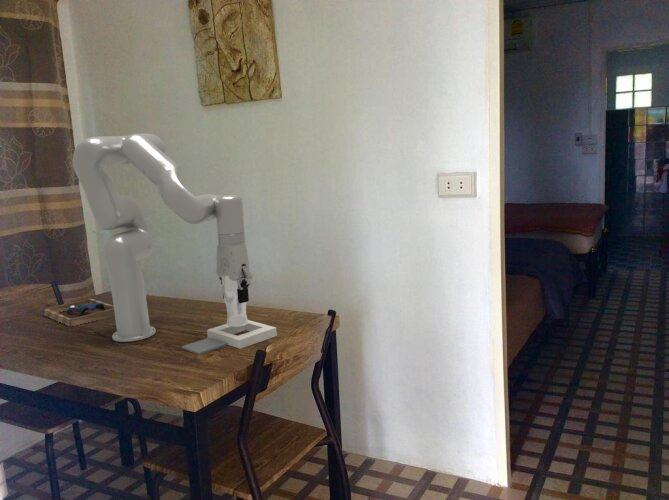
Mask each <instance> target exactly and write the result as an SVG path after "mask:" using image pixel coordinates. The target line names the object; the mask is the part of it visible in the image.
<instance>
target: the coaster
mask: <svg viewBox="0 0 669 500" xmlns="http://www.w3.org/2000/svg"><path fill="white" fill-rule="evenodd" d="M227 346H228V345H227V343H224V342H221V341H218V340H215V339H212V338H208V337H207V338H204V339H201V340H198V341H195V342H191V343H188V344H185V345H182V346H181V349H182V350H185V351H188V352H191V353H193V354H196V355H199V356H200V355H203V354H206V353H208V352H212V351H215V350H218V349H221V348H224V347H227Z"/></svg>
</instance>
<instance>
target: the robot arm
mask: <svg viewBox="0 0 669 500" xmlns="http://www.w3.org/2000/svg"><path fill="white" fill-rule="evenodd" d="M165 146H166V145H165V143H164V141H163V140H162V139H161V138H160V137H159V136H158V135H156V134H155V133H154V134H153V133H132V134H129V135H113V136H112V135H111V136H110V135H109V136H105V135H104V136H102V135H101V136H91V137H87V138H85V139H83V140H82V141H80V142H79V143H78V144H77V146H76V147H75V149H74V151H73V154H72V165H73V170H74V172H75V175H76V177H77V179H78V181H79V183H80V186H81V187H82V190H83V191H84V195H85V197H86V201H87V203H88V205H89V206H88V207H89V208H90V211H91V214H92V216H93V218H94V221H95V223H96V224H97V226H98V227H99V228H100V229H101V230H104V231H115V230H118V229H120V230H119V231H120V232H119V233H116V234H113V235H111V236H109V237H108V238H107V239H106V240H105V241H104V242H103V245H102V251H101V252H102V258H103V261H104V263H105V266H106V269H107V272H108V273H107V274H108V279H109V284H110V291H111V297H112V305H113V306H114V313H115V316H114V319H115V325H116V326H115V327H116V331H114V333H112V334H111V339H112V340H113V341H115V342H118V343H127V342H128V343H129V342H136V341H142V340H144V339H148V338H150V337H152V336H154V335H155V334H156V327H154V326H151V325H150V324H151V323H150V319H149V317H150V315H149V310H148V303H147V294H146V287H145V286H146V285H145V281H144V276H143V272H142V269H141V267H140V265H139V263H138V261H141V260H143V259H146V258H147V257H149V256H150V255H151V254H152V253H153V251H154V249H155V240H154V237H153V233H152V232H151V228H150V226H149V224H148V221H147V218H146V215H145V213H144V210H143V208H142V206H141V204H140V203H139V202H138V201H137V200H136V198H134V197H133V196H130V195H120V194H119V193H118V192H117V189H116V187H115V184H114V182H113V179H112V178H111V176H110V175H109V174H108V173H107V171H105V169H104V167H107V166H108V167H109V166H117V165H118V166H119V165H130V164H131V165H132V166H133V167H134V168H135V169H136V170H138V171H139V172H140V173H141V174H142V175H143V176H145V178H147V179H148V180H149V182H151V183H153V185H155V187H156V188H157V191H158V194H159V196H160V197H161V199H162V201H163V202H164V204H165V205H166V206H167V207H168V208H169V209H170V210H171V211H172V212H173V213H174V214H175V215H176V216H178V217H179V218H180V219H182V220H183V221H184V222H186V223H188V224H191V225H199V224H202V223H206V222H209V221H213V220H216V231H217V232H216V233H217V243H216V244H217V246H216V256H215V257H216V275H217V277H218V278H219V280H220V285H221V286H222V287H221V289H222V290H223V275H225V276H229V279H230V280H232V281H237V284H238V287H239V289H238V302H239V303H244V302H247V303H248V302H249V300H250V299H249V298H250V297H249V288H250V285H251V282H252V280H253V278H254V276H253V275H252V274H251V272H250V265H249V264H250V263H249V256H248V251H247V246H246V236H245V235H246V234H245V221H244V219H245V218H244V207H243V198H242V197H241V195H239V194H223V195H221V194H220V195H219V194H211V193H210V194H209V193H205V194H200V195H194V194H192V192H190V191H189V190H188V188H186V187H185V186H183V184H182V183H181V182H180V180H179V177H178V174H179V173H178V172H179V166H178V164H177V163H176V162H175V161H174V160H173V159H172V158H171V157H169V156H168V155H167V154H166V147H165ZM241 275H243V278H240V277H241ZM241 280H244V281H243V283H242V284H241ZM222 298H223V300H225V299H224V295H223V294H222Z"/></svg>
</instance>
